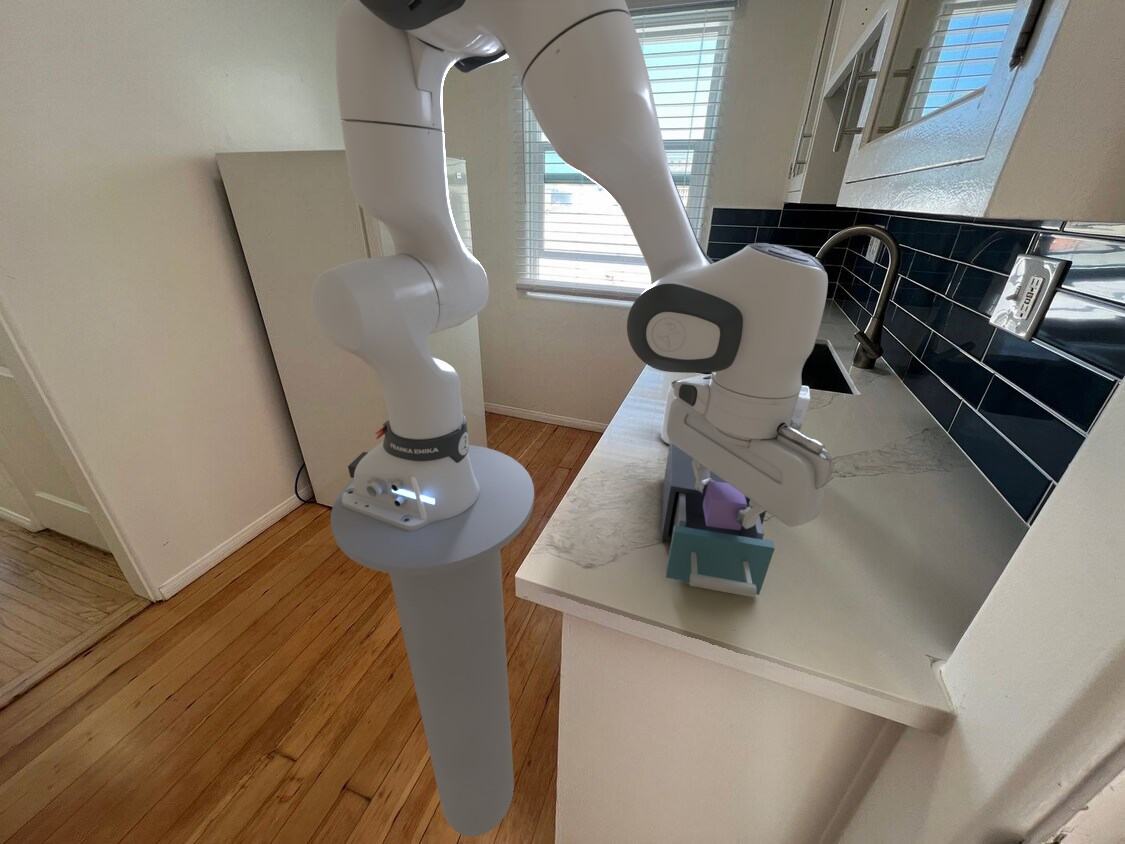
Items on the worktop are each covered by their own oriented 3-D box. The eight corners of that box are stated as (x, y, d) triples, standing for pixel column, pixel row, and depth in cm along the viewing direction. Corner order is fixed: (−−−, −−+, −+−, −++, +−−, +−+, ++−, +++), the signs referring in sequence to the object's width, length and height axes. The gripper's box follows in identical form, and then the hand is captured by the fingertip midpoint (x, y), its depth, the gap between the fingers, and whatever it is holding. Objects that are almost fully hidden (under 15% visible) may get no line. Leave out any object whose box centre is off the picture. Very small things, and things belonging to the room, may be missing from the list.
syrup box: (788, 453, 86) (809, 384, 79) (788, 468, 81) (811, 397, 75) (757, 446, 88) (775, 379, 81) (755, 460, 83) (774, 390, 77)
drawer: (766, 629, 50) (784, 580, 47) (665, 609, 52) (674, 561, 49) (744, 523, 66) (756, 481, 63) (667, 511, 68) (674, 469, 65)
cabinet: (752, 555, 62) (769, 500, 57) (661, 539, 64) (670, 486, 60) (739, 493, 74) (752, 444, 70) (663, 482, 77) (671, 434, 72)
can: (692, 450, 86) (703, 394, 81) (659, 444, 88) (667, 389, 82) (693, 434, 92) (703, 381, 86) (662, 429, 93) (669, 377, 88)
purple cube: (706, 526, 54) (712, 500, 52) (702, 505, 57) (707, 480, 55) (740, 530, 53) (747, 504, 51) (734, 509, 57) (741, 484, 55)
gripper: (860, 444, 41) (815, 554, 48) (704, 370, 57) (687, 460, 64) (816, 460, 38) (776, 574, 45) (665, 377, 54) (652, 470, 61)
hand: (722, 506), depth 54 cm, fingers closed on purple cube, 5 cm apart
